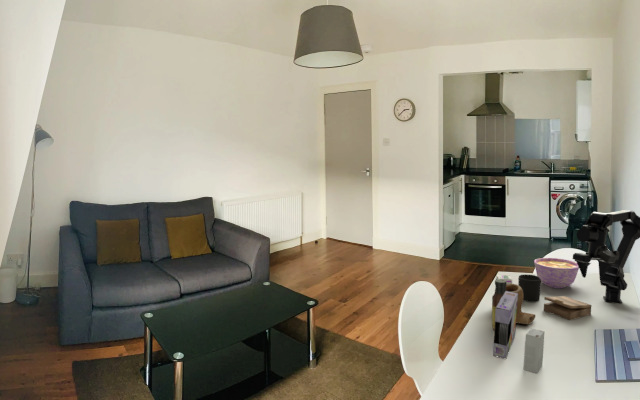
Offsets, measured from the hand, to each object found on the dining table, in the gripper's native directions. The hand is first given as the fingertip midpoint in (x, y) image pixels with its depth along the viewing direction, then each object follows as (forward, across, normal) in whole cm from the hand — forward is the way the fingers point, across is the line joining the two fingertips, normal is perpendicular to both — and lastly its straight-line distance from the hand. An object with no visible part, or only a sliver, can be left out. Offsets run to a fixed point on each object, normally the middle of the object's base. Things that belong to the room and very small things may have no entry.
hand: (592, 277), depth 192 cm
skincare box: (+20, -60, -38) cm, 74 cm away
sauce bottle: (+19, -52, -11) cm, 56 cm away
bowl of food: (+12, +8, +28) cm, 31 cm away
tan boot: (+18, -41, -4) cm, 45 cm away
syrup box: (+17, -37, +8) cm, 41 cm away
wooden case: (+14, -14, -2) cm, 20 cm away
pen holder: (+15, -17, +16) cm, 28 cm away
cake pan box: (+20, -59, -23) cm, 66 cm away
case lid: (+10, -14, -3) cm, 18 cm away
